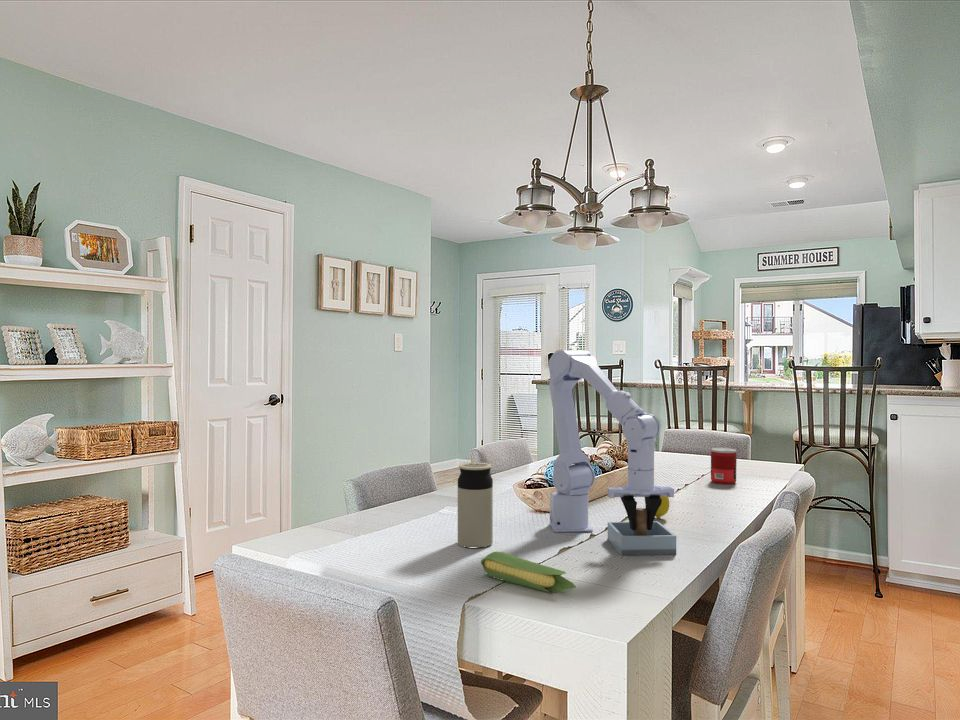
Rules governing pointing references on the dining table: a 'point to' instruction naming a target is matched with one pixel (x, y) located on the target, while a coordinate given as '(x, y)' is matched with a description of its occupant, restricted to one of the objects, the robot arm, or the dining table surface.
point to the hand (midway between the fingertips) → (640, 529)
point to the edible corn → (525, 572)
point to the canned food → (723, 465)
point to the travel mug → (475, 505)
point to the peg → (641, 522)
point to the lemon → (663, 507)
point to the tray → (641, 540)
